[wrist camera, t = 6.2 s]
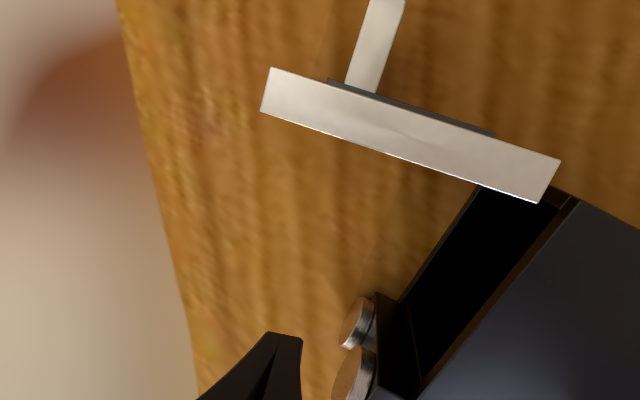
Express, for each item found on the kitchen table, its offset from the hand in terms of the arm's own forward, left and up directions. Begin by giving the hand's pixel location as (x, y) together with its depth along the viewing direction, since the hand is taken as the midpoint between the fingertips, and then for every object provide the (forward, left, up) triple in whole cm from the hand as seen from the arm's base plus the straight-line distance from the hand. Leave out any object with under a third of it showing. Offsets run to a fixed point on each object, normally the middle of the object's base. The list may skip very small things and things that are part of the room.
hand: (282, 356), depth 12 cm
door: (0, -11, -10) cm, 15 cm away
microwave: (-10, -3, -10) cm, 14 cm away
